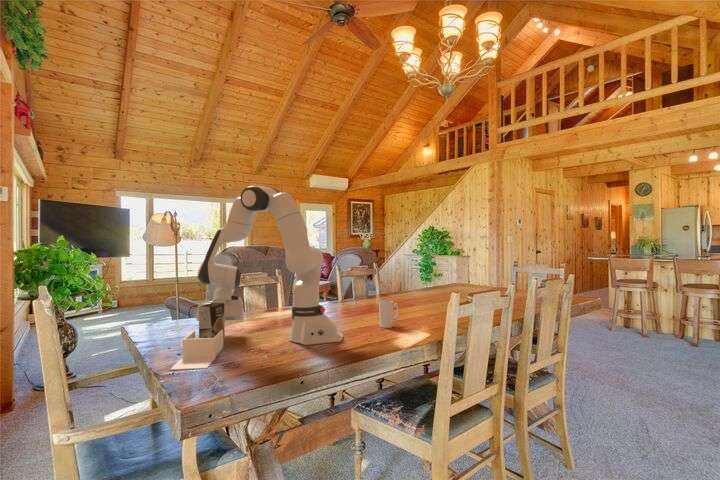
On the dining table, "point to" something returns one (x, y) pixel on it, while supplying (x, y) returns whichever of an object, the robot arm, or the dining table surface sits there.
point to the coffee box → (211, 320)
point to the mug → (387, 313)
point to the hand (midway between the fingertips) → (217, 328)
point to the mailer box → (199, 352)
